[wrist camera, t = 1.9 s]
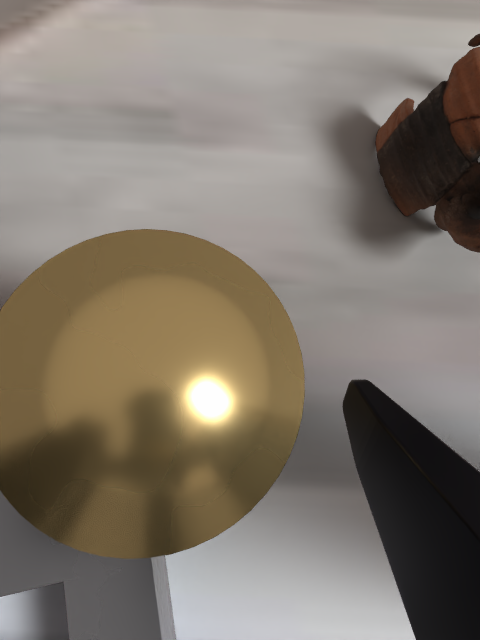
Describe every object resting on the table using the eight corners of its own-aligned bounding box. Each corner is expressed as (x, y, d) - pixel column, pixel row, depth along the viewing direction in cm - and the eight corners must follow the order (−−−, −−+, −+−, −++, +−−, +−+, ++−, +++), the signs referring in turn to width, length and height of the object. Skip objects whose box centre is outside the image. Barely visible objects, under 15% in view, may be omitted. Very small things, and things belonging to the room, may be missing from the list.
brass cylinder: (241, 421, 17) (334, 514, 5) (142, 441, 16) (-16, 599, 4) (225, 326, 17) (272, 213, 6) (129, 342, 17) (-37, 250, 5)
